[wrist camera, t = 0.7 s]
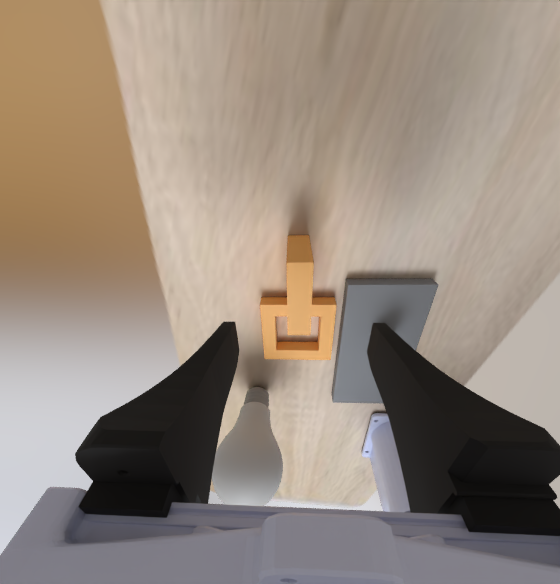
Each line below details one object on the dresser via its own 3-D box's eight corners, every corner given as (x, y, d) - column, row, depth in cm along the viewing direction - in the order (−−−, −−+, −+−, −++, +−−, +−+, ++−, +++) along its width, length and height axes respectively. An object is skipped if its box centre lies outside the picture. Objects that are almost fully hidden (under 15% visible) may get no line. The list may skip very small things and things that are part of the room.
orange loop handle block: (329, 351, 25) (336, 394, 21) (265, 350, 25) (260, 392, 21) (340, 234, 19) (354, 262, 15) (256, 235, 19) (246, 263, 15)
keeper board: (394, 395, 28) (414, 446, 23) (331, 394, 28) (339, 444, 24) (432, 278, 20) (474, 319, 16) (346, 279, 21) (361, 319, 16)
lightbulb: (227, 370, 27) (193, 491, 18) (283, 370, 27) (278, 493, 17) (236, 405, 30) (211, 523, 21) (286, 405, 30) (283, 526, 20)
